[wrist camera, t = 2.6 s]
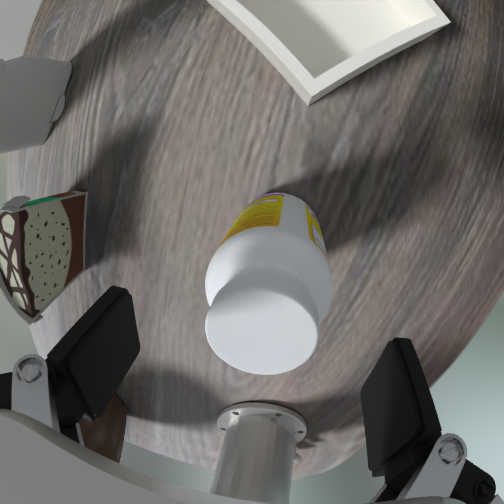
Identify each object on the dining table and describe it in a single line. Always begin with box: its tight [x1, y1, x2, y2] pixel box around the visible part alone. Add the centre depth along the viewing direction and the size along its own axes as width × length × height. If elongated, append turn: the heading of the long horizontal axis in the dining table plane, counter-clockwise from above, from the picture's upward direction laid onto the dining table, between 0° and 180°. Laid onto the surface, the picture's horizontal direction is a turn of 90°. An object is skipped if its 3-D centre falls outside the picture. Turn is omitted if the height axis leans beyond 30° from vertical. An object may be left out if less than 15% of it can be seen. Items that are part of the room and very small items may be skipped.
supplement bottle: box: [205, 193, 334, 375], centre depth 17 cm, size 7×7×13 cm
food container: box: [0, 190, 88, 325], centre depth 21 cm, size 12×6×10 cm, turn 163°
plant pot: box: [79, 394, 127, 463], centre depth 31 cm, size 15×15×16 cm
